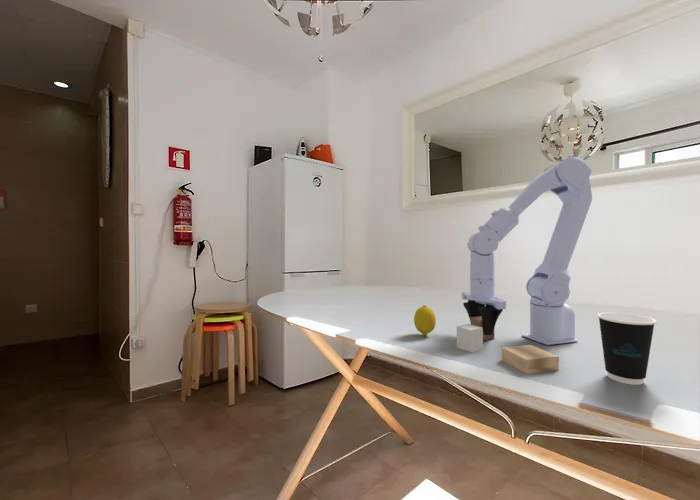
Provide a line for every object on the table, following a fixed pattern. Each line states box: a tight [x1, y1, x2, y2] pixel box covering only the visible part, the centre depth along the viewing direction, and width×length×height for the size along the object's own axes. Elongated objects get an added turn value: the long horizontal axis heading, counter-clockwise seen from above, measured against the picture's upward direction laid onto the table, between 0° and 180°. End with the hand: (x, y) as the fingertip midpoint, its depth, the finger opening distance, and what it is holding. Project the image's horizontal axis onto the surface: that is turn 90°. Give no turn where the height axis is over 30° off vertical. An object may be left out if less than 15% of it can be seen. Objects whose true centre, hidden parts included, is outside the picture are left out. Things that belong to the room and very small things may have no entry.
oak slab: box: [501, 344, 560, 375], centre depth 63 cm, size 7×7×3 cm
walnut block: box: [470, 316, 495, 341], centre depth 81 cm, size 4×4×5 cm
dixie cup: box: [596, 311, 657, 386], centre depth 56 cm, size 8×8×11 cm
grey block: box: [456, 323, 484, 353], centre depth 74 cm, size 4×4×5 cm
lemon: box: [413, 304, 437, 336], centre depth 84 cm, size 6×6×8 cm
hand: (482, 331), depth 81 cm, fingers closed on walnut block, 4 cm apart
